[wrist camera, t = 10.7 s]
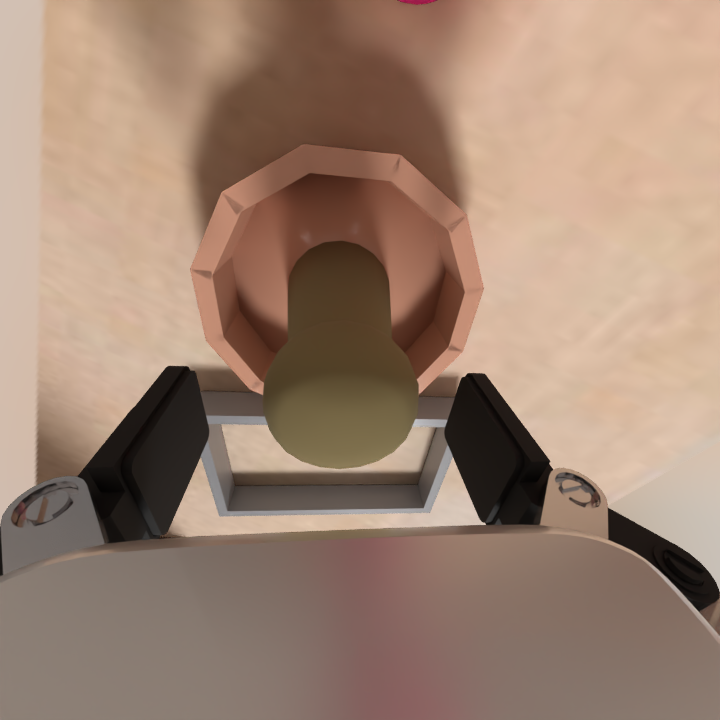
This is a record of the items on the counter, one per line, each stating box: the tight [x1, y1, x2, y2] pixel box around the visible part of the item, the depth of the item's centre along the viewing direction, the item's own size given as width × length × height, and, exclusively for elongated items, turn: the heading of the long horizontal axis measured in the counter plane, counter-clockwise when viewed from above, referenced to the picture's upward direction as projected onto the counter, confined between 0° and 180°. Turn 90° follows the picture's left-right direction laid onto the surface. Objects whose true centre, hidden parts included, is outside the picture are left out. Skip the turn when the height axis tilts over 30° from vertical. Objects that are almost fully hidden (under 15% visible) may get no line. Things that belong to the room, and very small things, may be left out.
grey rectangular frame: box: [201, 391, 455, 516], centre depth 26 cm, size 13×20×2 cm, turn 85°
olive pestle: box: [262, 240, 419, 469], centre depth 13 cm, size 6×6×11 cm
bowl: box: [190, 144, 484, 395], centre depth 17 cm, size 14×14×4 cm
